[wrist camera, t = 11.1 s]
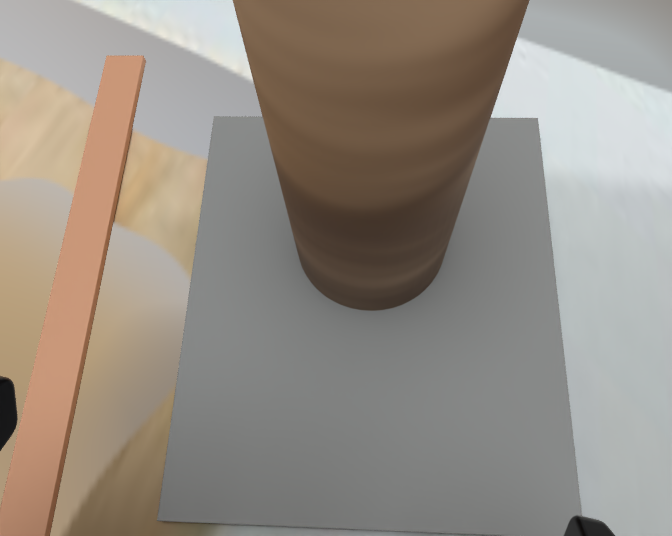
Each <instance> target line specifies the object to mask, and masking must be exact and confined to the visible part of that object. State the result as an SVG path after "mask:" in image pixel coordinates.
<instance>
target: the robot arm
mask: <svg viewBox="0 0 672 536" xmlns="http://www.w3.org/2000/svg"><path fill="white" fill-rule="evenodd" d="M16 425H17V408H16V398H15V389H14V384H13V382H12V381H11V380H10V379H9V378H6V377H3V376H0V451H1V449H2V448H3V446H4V445H5V444H6V442H7V441H8V440H9V438H10V437H11V435H12V434H13V432H14V430H15V428H16ZM564 536H615V535H614V533H613V532H612V531H611V530H610V529H609V528H608V526H607V525H606V524H605V523H603V522H602V521H599V520H596V519H592V518H588V517H584V516H579V515H576V516H573V517H572V518H571V519H570V521H569V523H568V526H567V528H566V531H565V533H564Z"/></svg>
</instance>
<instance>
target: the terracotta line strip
mask: <svg viewBox="0 0 672 536" xmlns="http://www.w3.org/2000/svg"><path fill="white" fill-rule="evenodd" d="M145 63H146V60H145V58H144V56H106V61H105V65H104V69H103V74H102V78H101V82H100V86H99V90H98V95H97V99H96V103H95V107H94V112H93V116H92V120H91V124H90V129H89V133H88V137H87V141H86V146H85V150H84V154H83V158H82V163H81V167H80V171H79V175H78V180H77V184H76V188H75V192H74V197H73V201H72V206H71V210H70V214H69V218H68V222H67V227H66V231H65V235H64V239H63V244H62V248H61V252H60V256H59V261H58V265H57V269H56V273H55V278H54V282H53V286H52V290H51V295H50V299H49V303H48V307H47V311H46V316H45V320H44V325H43V328H42V333H41V337H40V341H39V346H38V350H37V354H36V358H35V363H34V367H33V371H32V375H31V380H30V384H29V388H28V393H27V396H26V401H25V405H24V410H23V413H22V418H21V422H20V427H19V430H18V435H17V439H16V443H15V447H14V452H13V456H12V460H11V465H10V469H9V473H8V477H7V481H6V486H5V490H4V495H3V499H2V503H1V507H0V536H50V532H51V527H52V522H53V517H54V511H55V507H56V502H57V497H58V492H59V487H60V482H61V477H62V473H63V467H64V463H65V457H66V453H67V448H68V443H69V437H70V433H71V428H72V423H73V418H74V413H75V408H76V403H77V398H78V394H79V389H80V383H81V379H82V374H83V369H84V364H85V359H86V353H87V349H88V343H89V339H90V334H91V329H92V324H93V319H94V314H95V310H96V305H97V299H98V295H99V290H100V285H101V280H102V275H103V270H104V265H105V260H106V255H107V250H108V245H109V240H110V235H111V231H112V226H113V221H114V216H115V211H116V206H117V201H118V196H119V191H120V186H121V181H122V176H123V171H124V166H125V161H126V156H127V151H128V147H129V142H130V137H131V132H132V127H133V122H134V117H135V112H136V107H137V102H138V97H139V92H140V87H141V82H142V77H143V72H144V67H145Z"/></svg>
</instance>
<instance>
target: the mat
mask: <svg viewBox="0 0 672 536" xmlns="http://www.w3.org/2000/svg"><path fill="white" fill-rule="evenodd" d="M576 515H579V516H582V511H581V502H580V493H579V484H578V475H577V466H576V457H575V448H574V439H573V430H572V421H571V412H570V403H569V394H568V385H567V376H566V367H565V358H564V349H563V340H562V331H561V322H560V313H559V304H558V295H557V286H556V277H555V268H554V259H553V250H552V241H551V232H550V223H549V214H548V205H547V197H546V188H545V179H544V170H543V161H542V152H541V143H540V134H539V125H538V118H490V120H489V123H488V126H487V129H486V132H485V135H484V138H483V141H482V144H481V147H480V150H479V153H478V156H477V159H476V162H475V165H474V168H473V171H472V174H471V177H470V180H469V184H468V187H467V190H466V193H465V196H464V199H463V202H462V205H461V208H460V211H459V214H458V217H457V220H456V223H455V226H454V229H453V232H452V235H451V238H450V241H449V244H448V247H447V250H446V253H445V256H444V259H443V262H442V265H441V267H440V269H439V272H438V274H437V275H436V277H435V278H434V280H433V281H432V283H431V284H430V285H429V286H428V287H427V288H426V289H425V290H424V291H423V292H422V293H421V294H420V295H418V296H417V297H415V298H414V299H412V300H411V301H409V302H407V303H405V304H403V305H400V306H397V307H394V308H390V309H385V310H377V311H366V310H358V309H352V308H349V307H346V306H343V305H340V304H338V303H336V302H334V301H332V300H331V299H329V298H328V297H326V296H325V295H323V294H322V293H321V292H320V291H319V290H317V288H316V287H315V286H314V285H313V284H312V283H311V282H310V280H309V279H308V277H307V276H306V274H305V272H304V270H303V268H302V266H301V262H300V259H299V256H298V252H297V248H296V244H295V240H294V236H293V233H292V229H291V225H290V221H289V217H288V213H287V209H286V205H285V201H284V198H283V194H282V190H281V186H280V182H279V178H278V174H277V170H276V166H275V162H274V159H273V155H272V151H271V147H270V143H269V139H268V135H267V131H266V127H265V124H264V120H263V117H214V121H213V128H212V134H211V141H210V149H209V156H208V163H207V170H206V177H205V184H204V191H203V198H202V205H201V213H200V220H199V227H198V234H197V241H196V248H195V255H194V262H193V269H192V277H191V284H190V291H189V298H188V305H187V312H186V319H185V327H184V333H183V341H182V348H181V355H180V362H179V370H178V376H177V383H176V390H175V397H174V405H173V412H172V419H171V426H170V433H169V440H168V447H167V454H166V461H165V469H164V476H163V483H162V490H161V497H160V504H159V511H158V518H157V521H174V522H197V523H220V524H243V525H267V526H290V527H313V528H337V529H360V530H383V531H407V532H430V533H453V534H476V535H500V536H564V533H565V531H566V528H567V526H568V523H569V521H570V519H571V518H572V517H573V516H576Z"/></svg>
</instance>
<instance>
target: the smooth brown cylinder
mask: <svg viewBox="0 0 672 536" xmlns="http://www.w3.org/2000/svg"><path fill="white" fill-rule="evenodd" d="M233 3H234V7H235V11H236V15H237V19H238V22H239V26H240V30H241V34H242V38H243V42H244V46H245V50H246V54H247V57H248V61H249V65H250V69H251V73H252V77H253V81H254V85H255V88H256V92H257V96H258V100H259V104H260V107H261V112H262V116H263V120H264V124H265V127H266V131H267V135H268V139H269V143H270V147H271V151H272V155H273V159H274V162H275V166H276V170H277V174H278V178H279V182H280V186H281V190H282V194H283V198H284V201H285V205H286V209H287V213H288V217H289V221H290V225H291V229H292V233H293V236H294V240H295V244H296V248H297V252H298V256H299V259H300V262H301V266H302V268H303V270H304V272H305V274H306V276H307V277H308V279H309V280H310V282H311V283H312V284H313V285H314V286H315V287H316V288H317V290H319V291H320V292H321V293H322V294H323V295H325V296H326V297H328V298H329V299H331V300H332V301H334V302H336V303H338V304H340V305H343V306H346V307H349V308H352V309H358V310H366V311H377V310H385V309H390V308H394V307H397V306H400V305H403V304H405V303H407V302H409V301H411V300H412V299H414V298H415V297H417V296H418V295H420V294H421V293H422V292H423V291H424V290H425V289H426V288H427V287H428V286H429V285H430V284H431V283H432V281H433V280H434V278H435V277H436V275H437V274H438V272H439V269H440V267H441V265H442V262H443V259H444V256H445V253H446V250H447V247H448V244H449V241H450V238H451V235H452V232H453V229H454V226H455V223H456V220H457V217H458V214H459V211H460V208H461V205H462V202H463V199H464V196H465V193H466V190H467V187H468V184H469V180H470V177H471V174H472V171H473V168H474V165H475V162H476V159H477V156H478V153H479V150H480V147H481V144H482V141H483V138H484V135H485V132H486V129H487V126H488V123H489V120H490V117H491V114H492V111H493V108H494V105H495V102H496V99H497V96H498V93H499V90H500V87H501V84H502V81H503V78H504V75H505V72H506V69H507V66H508V63H509V60H510V57H511V54H512V51H513V48H514V45H515V42H516V39H517V36H518V33H519V30H520V27H521V24H522V21H523V18H524V15H525V12H526V9H527V5H528V3H529V0H233Z"/></svg>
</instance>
